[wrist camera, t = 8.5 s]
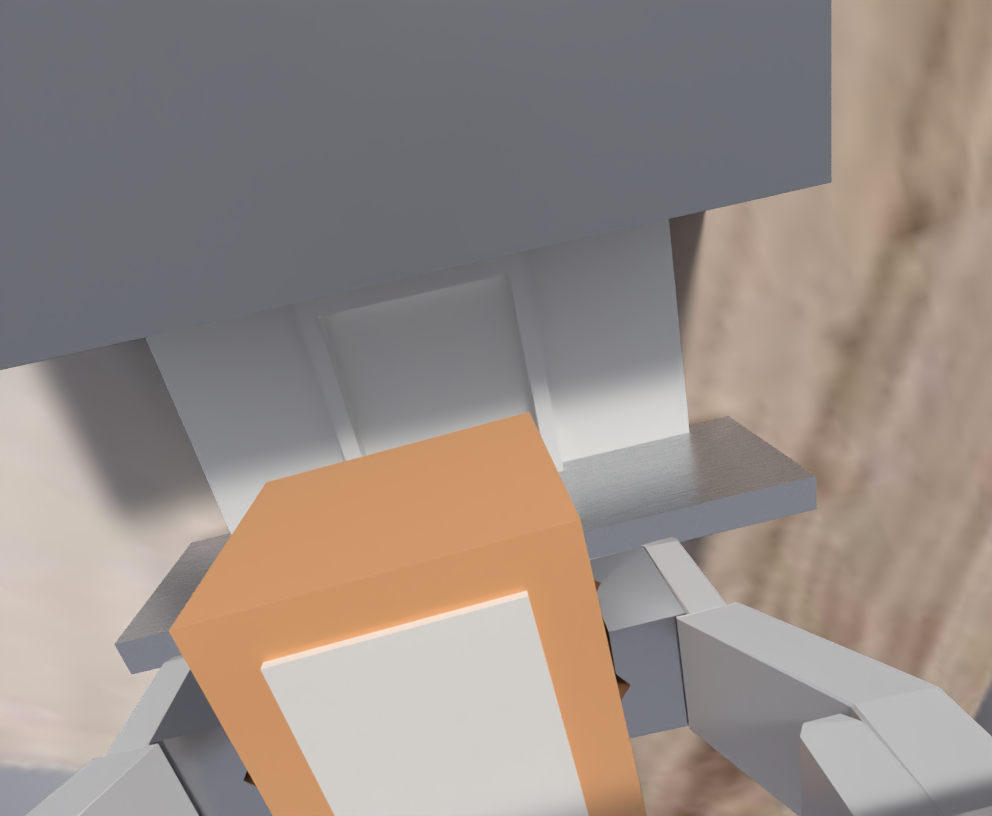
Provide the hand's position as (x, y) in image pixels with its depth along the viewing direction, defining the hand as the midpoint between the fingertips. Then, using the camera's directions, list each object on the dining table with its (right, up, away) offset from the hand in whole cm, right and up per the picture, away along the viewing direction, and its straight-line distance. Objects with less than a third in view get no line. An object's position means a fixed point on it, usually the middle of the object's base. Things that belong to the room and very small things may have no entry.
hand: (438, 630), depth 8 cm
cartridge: (0, +1, +2) cm, 2 cm away
